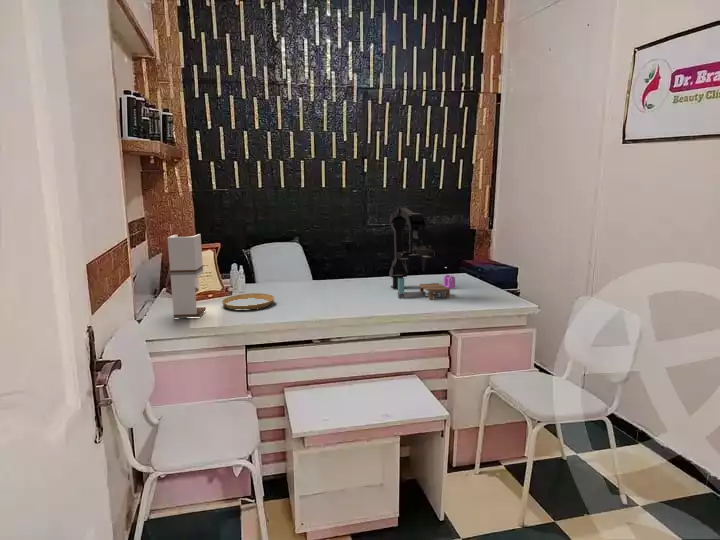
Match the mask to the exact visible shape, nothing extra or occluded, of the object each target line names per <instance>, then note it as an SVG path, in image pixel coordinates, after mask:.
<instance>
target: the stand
mask: <svg viewBox="0 0 720 540" xmlns="http://www.w3.org/2000/svg"><path fill="white" fill-rule="evenodd" d="M443 285H444V284H440V282H437V283H436V282H435V283H434V282H433V283H432V282H431V283H421V284H420V283H419V291H427V292H428V293H429V295H428V300H430V301H433V300H434V297H433V293H437V292H439V293H445V299H446V298H450V297H451V296H450V294H451V293H450V292H451V289H448V288H446V287H445V286H443Z"/></svg>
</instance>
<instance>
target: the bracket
mask: <svg viewBox="0 0 720 540" xmlns="http://www.w3.org/2000/svg"><path fill="white" fill-rule="evenodd" d="M442 285H443V286H445V287H446V288H448V289H450V290H453V289H452V288H455V289H456V277H455V276H452V275H449V274H445V275H444V276H443V284H442Z"/></svg>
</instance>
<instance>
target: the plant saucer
mask: <svg viewBox="0 0 720 540" xmlns="http://www.w3.org/2000/svg"><path fill="white" fill-rule="evenodd" d="M248 298H255V299H264V300H267V301H269V302H266V303H262V304H257V305H248V306H233V305H227V304H226V303H228V302H230V301H233V300H238V299H248ZM274 300H275V296H274V295H272V294H269V293H262V292H261V293H259V292H257V293H253V292H252V293H241V294H235V295H231V296H227V297H226V298H224V299H222V301H221V303H222V304H223V306H224V307H225V308H226V309H229V308H231V309H256V310H258V309H257V308H261V309H263V308H262V307H265V308H267V307H269V306H270V305H271V304H272V303H273V302H274ZM268 305H269V306H268ZM266 306H267V307H266ZM231 309H230V310H231Z"/></svg>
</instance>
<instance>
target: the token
mask: <svg viewBox="0 0 720 540" xmlns="http://www.w3.org/2000/svg"><path fill="white" fill-rule="evenodd" d="M439 296H440V297H441V293H440V292H439V293H433V298H439Z"/></svg>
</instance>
